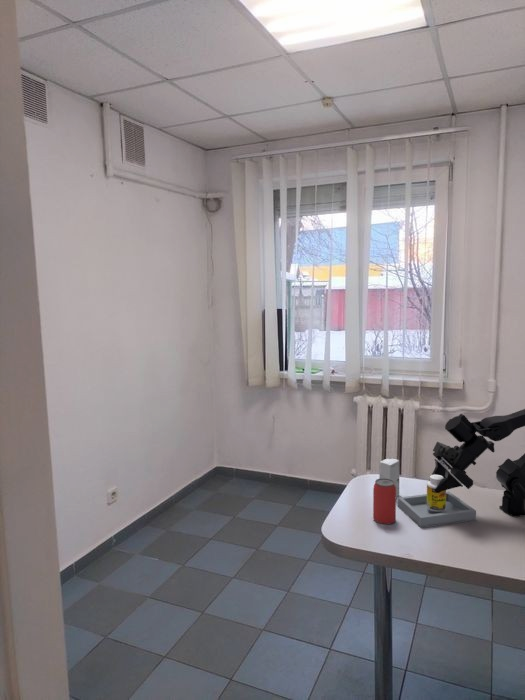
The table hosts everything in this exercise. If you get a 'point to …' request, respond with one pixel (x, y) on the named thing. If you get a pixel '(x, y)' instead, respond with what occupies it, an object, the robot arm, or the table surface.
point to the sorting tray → (425, 517)
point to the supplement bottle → (435, 494)
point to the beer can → (384, 501)
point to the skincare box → (390, 471)
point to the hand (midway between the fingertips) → (432, 487)
